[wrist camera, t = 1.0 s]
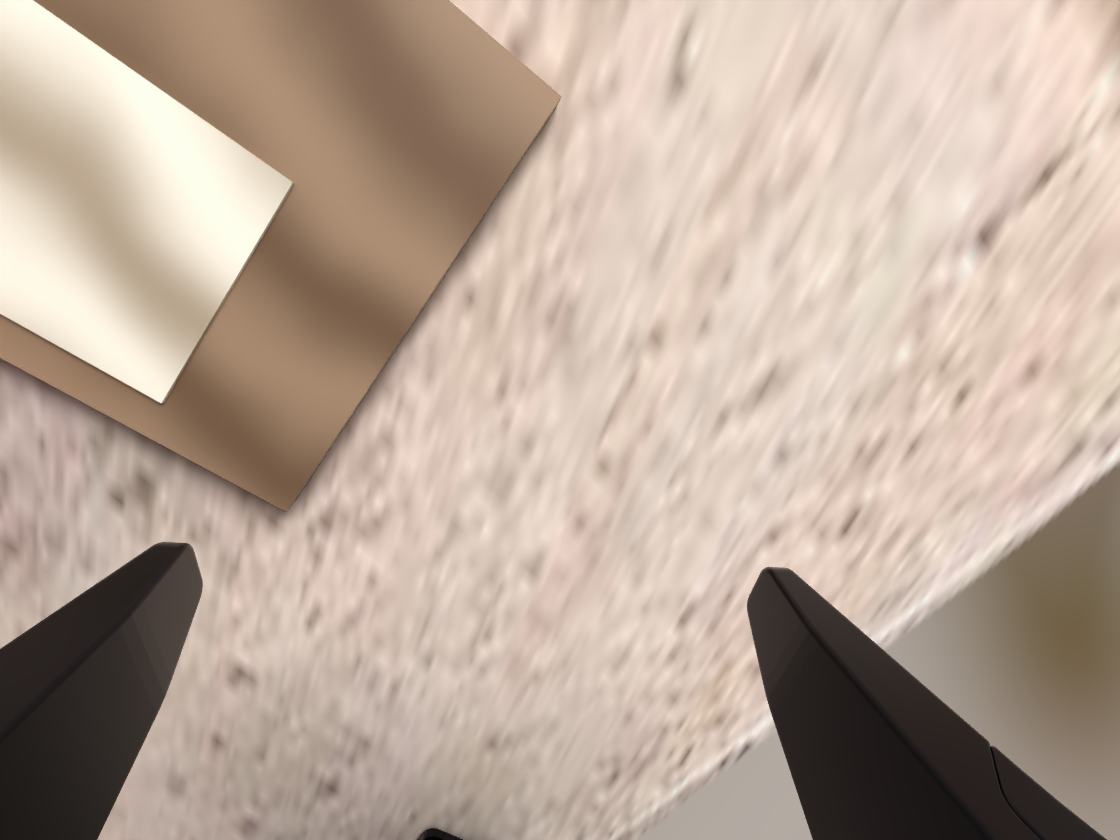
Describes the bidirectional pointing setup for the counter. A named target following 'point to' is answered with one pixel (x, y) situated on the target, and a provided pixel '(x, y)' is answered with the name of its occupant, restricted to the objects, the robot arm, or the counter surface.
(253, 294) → the walnut board
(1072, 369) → the counter surface
